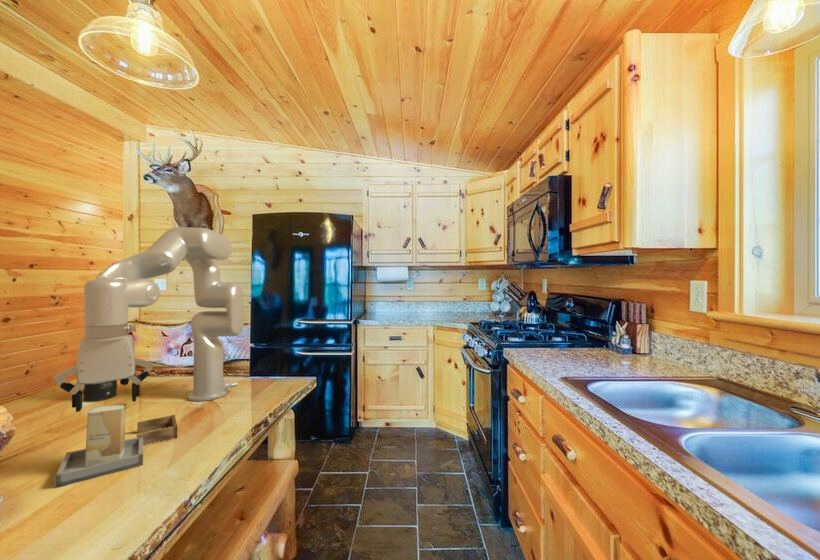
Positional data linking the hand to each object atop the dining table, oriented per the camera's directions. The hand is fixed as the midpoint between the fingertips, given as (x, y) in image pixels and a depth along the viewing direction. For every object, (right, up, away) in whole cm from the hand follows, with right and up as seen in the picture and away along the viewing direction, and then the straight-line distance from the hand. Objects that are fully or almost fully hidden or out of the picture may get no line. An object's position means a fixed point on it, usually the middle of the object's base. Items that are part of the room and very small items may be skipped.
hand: (107, 404), depth 79 cm
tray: (0, -14, -1) cm, 14 cm away
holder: (+1, -14, +14) cm, 20 cm away
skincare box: (0, -13, -1) cm, 13 cm away
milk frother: (-46, -14, +46) cm, 67 cm away
